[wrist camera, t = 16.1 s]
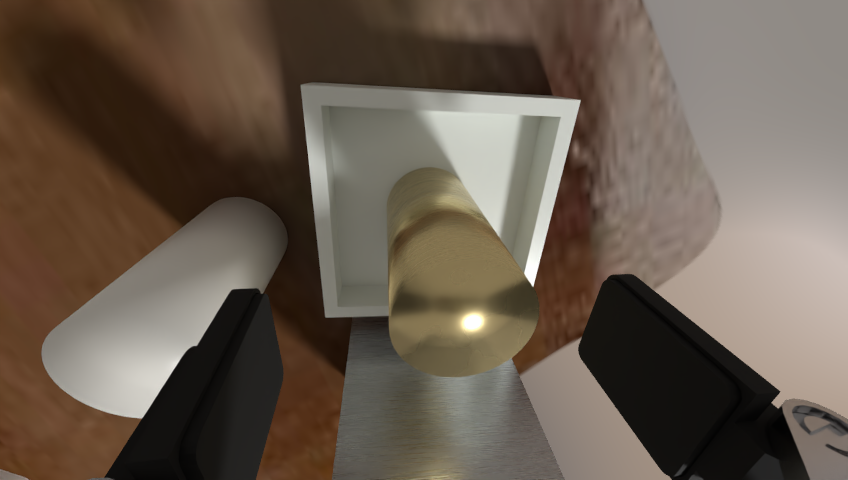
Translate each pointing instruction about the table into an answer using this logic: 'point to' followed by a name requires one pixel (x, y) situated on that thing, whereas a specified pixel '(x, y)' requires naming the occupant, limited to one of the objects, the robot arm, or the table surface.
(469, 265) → the cylinder
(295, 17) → the table surface
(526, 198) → the tray
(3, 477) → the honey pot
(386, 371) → the grey box
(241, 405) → the robot arm
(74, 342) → the cylinder
